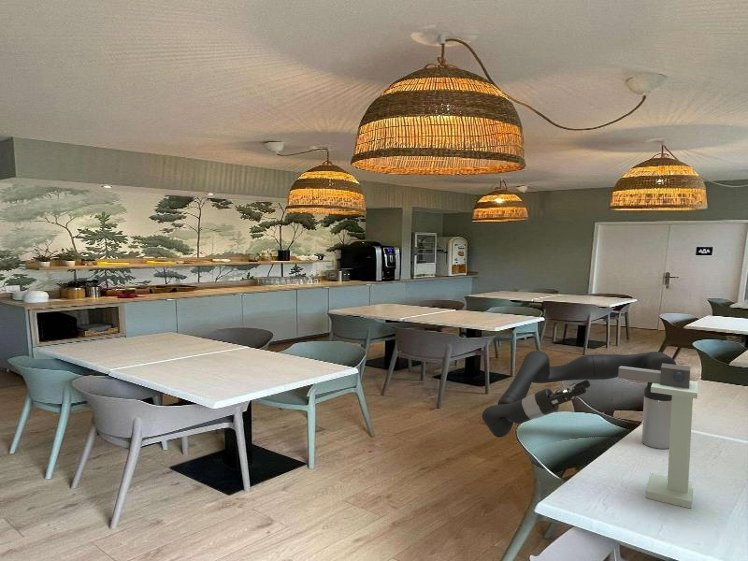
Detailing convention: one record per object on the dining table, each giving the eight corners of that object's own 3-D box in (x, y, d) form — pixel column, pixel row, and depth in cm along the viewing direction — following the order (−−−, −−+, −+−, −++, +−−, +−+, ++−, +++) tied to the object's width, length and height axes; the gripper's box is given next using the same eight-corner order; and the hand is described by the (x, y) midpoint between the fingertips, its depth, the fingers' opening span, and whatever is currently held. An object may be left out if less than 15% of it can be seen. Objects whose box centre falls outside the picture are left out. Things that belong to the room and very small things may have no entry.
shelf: (649, 478, 157) (654, 376, 155) (692, 488, 152) (697, 381, 149) (645, 497, 146) (651, 386, 143) (691, 508, 140) (697, 393, 137)
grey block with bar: (620, 374, 157) (621, 358, 157) (689, 383, 147) (690, 366, 147) (617, 379, 151) (617, 362, 150) (689, 389, 141) (689, 371, 141)
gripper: (550, 409, 172) (596, 391, 164) (540, 421, 160) (589, 402, 152) (539, 388, 174) (584, 370, 166) (528, 398, 161) (576, 379, 154)
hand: (587, 385), depth 159 cm, fingers open, 8 cm apart
